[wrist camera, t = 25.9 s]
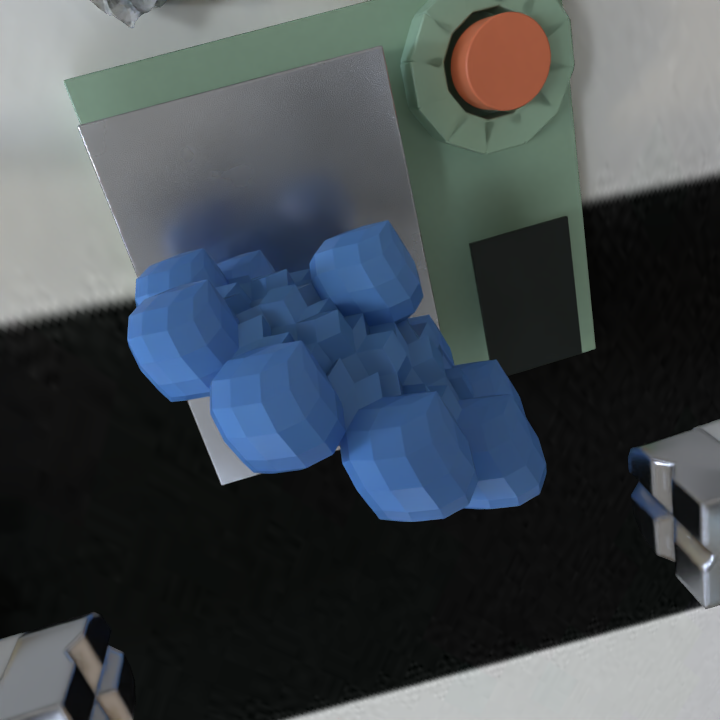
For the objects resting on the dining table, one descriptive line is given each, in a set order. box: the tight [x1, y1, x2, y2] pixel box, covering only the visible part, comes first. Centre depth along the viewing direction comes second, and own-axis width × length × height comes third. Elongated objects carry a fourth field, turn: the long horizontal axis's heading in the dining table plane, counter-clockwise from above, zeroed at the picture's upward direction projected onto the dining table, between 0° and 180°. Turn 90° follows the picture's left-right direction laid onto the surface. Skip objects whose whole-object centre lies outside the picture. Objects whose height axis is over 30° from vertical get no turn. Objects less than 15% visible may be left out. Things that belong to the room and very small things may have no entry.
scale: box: [64, 0, 595, 365], centre depth 26 cm, size 18×16×3 cm
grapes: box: [127, 220, 546, 522], centre depth 18 cm, size 12×7×12 cm, turn 70°
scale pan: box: [78, 45, 582, 485], centre depth 24 cm, size 16×14×1 cm
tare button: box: [451, 12, 551, 111], centre depth 22 cm, size 3×3×2 cm
